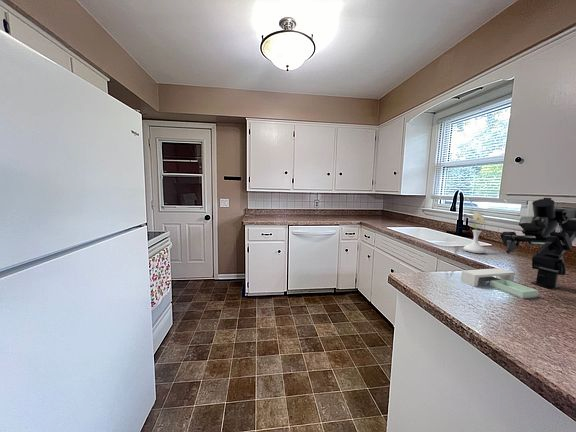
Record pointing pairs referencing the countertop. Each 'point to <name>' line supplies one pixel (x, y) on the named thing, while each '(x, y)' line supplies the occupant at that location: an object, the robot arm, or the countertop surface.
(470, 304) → the countertop surface
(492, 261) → the countertop surface
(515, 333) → the countertop surface
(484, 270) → the shelf
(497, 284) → the tray
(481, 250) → the flower in vase
